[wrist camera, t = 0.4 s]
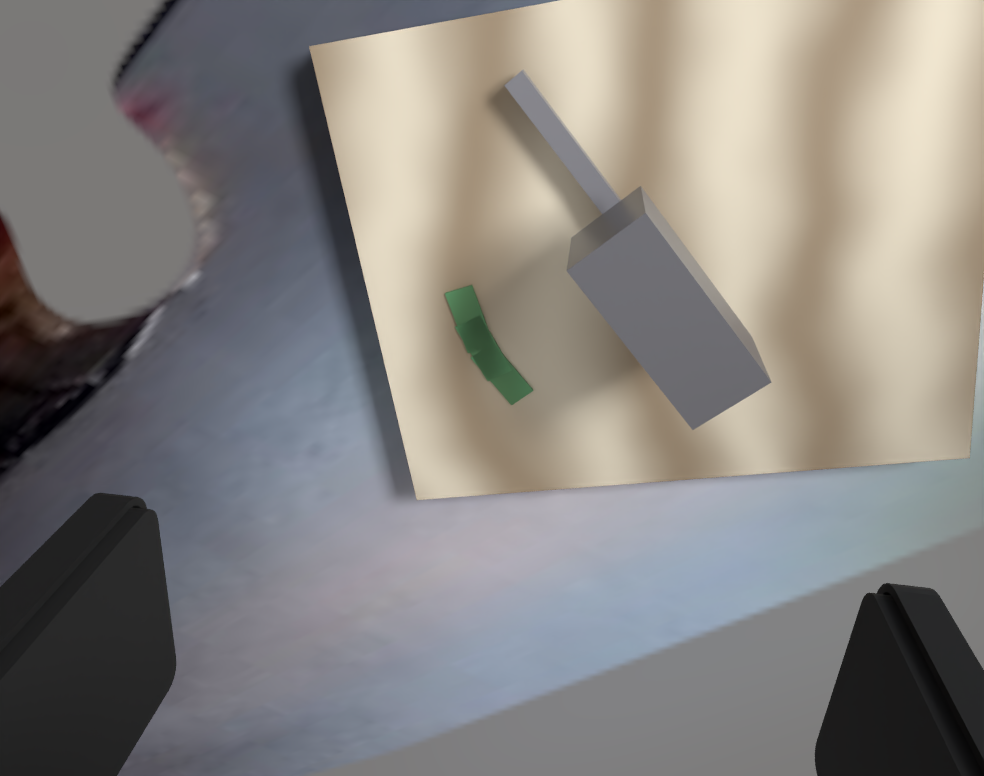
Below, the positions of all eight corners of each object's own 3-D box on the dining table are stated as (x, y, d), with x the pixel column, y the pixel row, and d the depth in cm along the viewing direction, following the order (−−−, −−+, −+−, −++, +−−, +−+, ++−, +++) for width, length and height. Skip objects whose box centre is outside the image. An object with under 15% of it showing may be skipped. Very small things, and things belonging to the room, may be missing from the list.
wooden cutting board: (986, -78, 28) (1013, -83, 26) (951, 435, 36) (970, 459, 35) (325, 43, 33) (308, 46, 31) (425, 478, 41) (416, 501, 39)
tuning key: (740, 310, 33) (771, 382, 27) (677, 352, 34) (692, 430, 28) (548, 48, 30) (533, 61, 24) (484, 103, 31) (454, 129, 25)
